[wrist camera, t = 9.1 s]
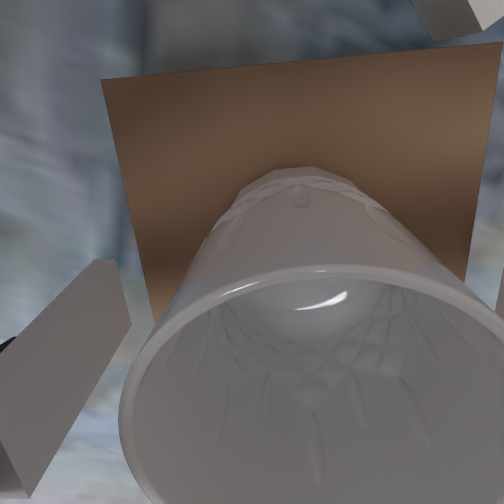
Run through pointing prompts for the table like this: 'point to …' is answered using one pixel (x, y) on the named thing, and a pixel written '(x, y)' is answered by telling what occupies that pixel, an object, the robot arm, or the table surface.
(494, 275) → the table surface
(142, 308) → the table surface
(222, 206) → the walnut block
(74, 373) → the robot arm
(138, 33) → the table surface
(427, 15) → the pale block
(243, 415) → the white cup
